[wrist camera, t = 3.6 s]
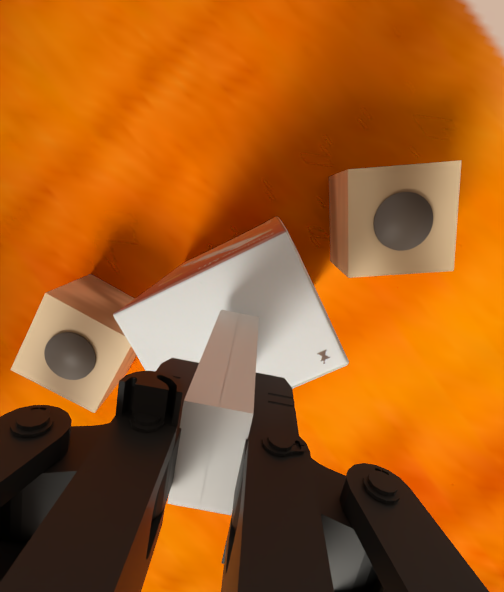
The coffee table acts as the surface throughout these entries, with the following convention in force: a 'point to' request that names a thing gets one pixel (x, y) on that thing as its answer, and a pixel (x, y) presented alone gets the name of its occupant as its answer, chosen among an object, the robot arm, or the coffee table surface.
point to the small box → (238, 308)
